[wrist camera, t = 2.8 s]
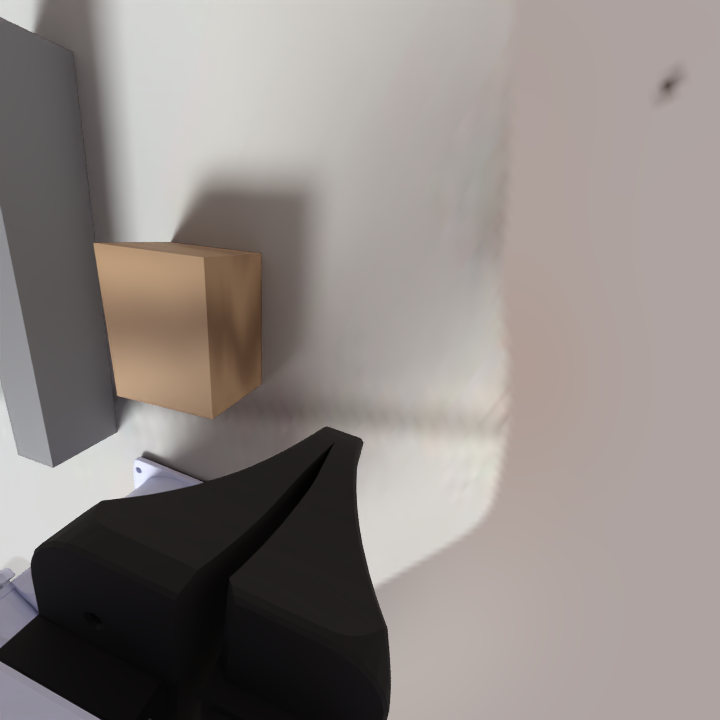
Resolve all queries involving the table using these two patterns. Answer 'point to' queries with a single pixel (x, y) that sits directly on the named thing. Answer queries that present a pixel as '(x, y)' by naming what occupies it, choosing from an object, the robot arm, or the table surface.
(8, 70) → the gray rectangular bar
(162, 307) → the tan block
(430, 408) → the table surface
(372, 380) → the table surface
